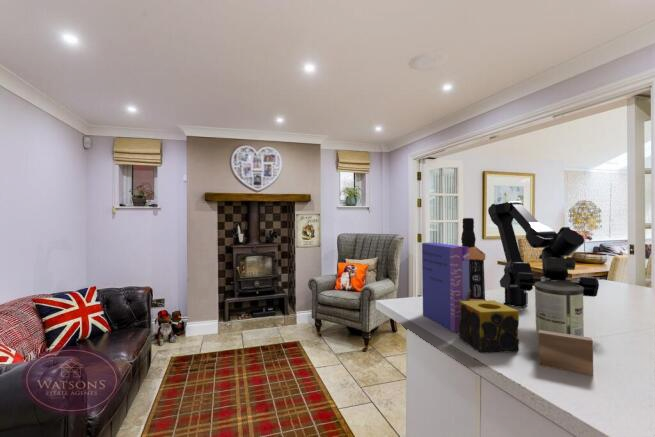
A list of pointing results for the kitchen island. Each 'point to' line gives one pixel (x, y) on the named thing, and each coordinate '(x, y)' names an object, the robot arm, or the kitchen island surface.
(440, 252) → the cereal box
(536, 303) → the coffee can
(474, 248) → the whiskey bottle
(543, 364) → the wooden block
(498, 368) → the kitchen island surface
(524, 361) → the kitchen island surface
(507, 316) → the yellow cube with hole
